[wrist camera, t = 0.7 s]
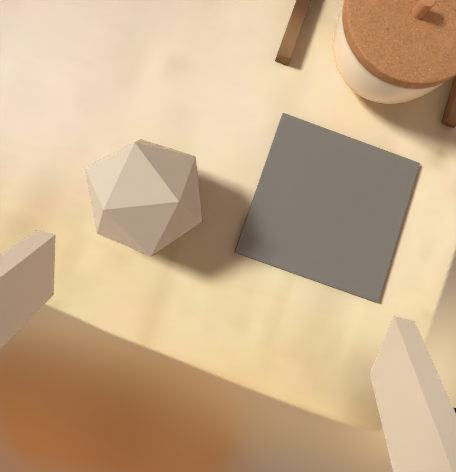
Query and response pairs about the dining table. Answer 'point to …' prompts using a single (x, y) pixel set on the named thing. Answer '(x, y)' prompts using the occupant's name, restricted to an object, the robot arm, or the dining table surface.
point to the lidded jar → (395, 47)
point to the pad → (328, 208)
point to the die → (145, 196)
